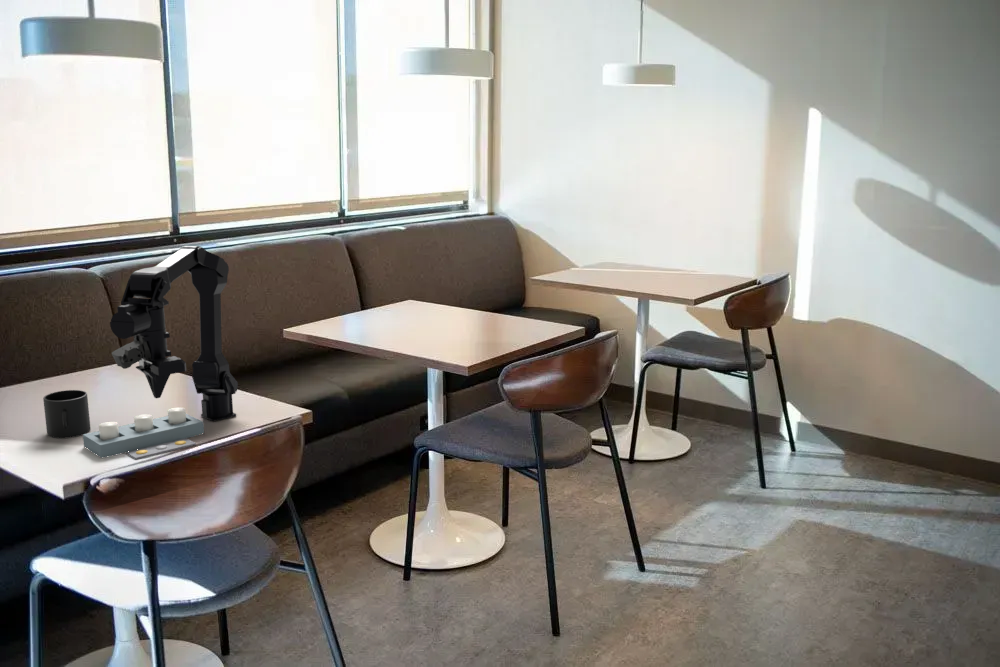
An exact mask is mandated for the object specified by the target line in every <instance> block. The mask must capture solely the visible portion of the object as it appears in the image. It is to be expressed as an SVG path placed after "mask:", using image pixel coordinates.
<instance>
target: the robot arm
mask: <svg viewBox="0 0 1000 667" xmlns="http://www.w3.org/2000/svg"><path fill="white" fill-rule="evenodd" d="M187 272H188V273H189V274H190V276H191V283H192V286H193V287H194V288H195V290H196V291H197V293H198V295H199V333H200V335H199V336H200V338H199V339H200V354H199V356H198V358H197V359H196V360H195V361H193V362H192V365H191V366H192V376H191V378H192V382H193V384H194V388H195V391H196V394H198V395H199V394H202V399H201V413H200V416H201V417H202V418H205V419H206V420H208V421H211V422H216V421H221V420H226V419H229V418H234V417H237V413H235V412H234V406H233V404H234V403H233V395H235V394H236V393H237V391H238V384H239V382H238V381H237V380H236V379H235V377H234V376H233V375H232V374H231V372H230V362H228V360H227V359H226V357H225V355H224V354H223V350H222V348H223V347H222V346H223V345H222V344H223V342H222V341H223V340H222V305H221V303H222V301H221V298H222V297H221V296H222V295H221V294H222V292H223V290H224V289H225V287H226V286H227V283H228V275H229V272H230V269H229V265H228V262H226V261H225V259H224V258H223V257H220V256H219V255H216V254H214V253H212V252H210V251H208V250H206V249H205V247H201V246H199V245H183V246H181V247H180V248H179V249H178V250H177V251H176V252H174V253H173V254H171V255H170V256H168V257H167V258H166V259H164V260H163V261H161V262H160V263H158V264H157V265H155V266H151V267H145V268H140V269H139V270H138V269H137V270H135V271H133V272H132V273H131V274H130V276H129V278H128V281H127V283H126V286H125V289H124V293H123V295H122V299H121V302H120V305H118V306H117V307H116V309H117V312H115V313H114V314H113V315H112V317H111V318H110V322H109V324H110V330H111V332H112V333H113V335H114V336H116V337H117V338H119V339H122V340H126V339H129V338H132V337H133V341H131V342H130V343H126V344H125V345H122V346H120V347H119V348H117V349H116V350H113V351H112V352H111V356H112V357H113V359H114V361H115V363H116V366H117V367H121V368H122V369H129V368H131V367H132V365H135V364H136V363H138V365H137V366H135V369H137V370H139V371H140V372H141V373H142V374H144V375H145V378H146V380H147V382H148V386H149V388H150V390H151V393H152V395H153V398H154V399H159V398H161V396H162V395H163V392H164V389H165V388H166V385H167V382H168V381H169V379H170V376H171V375H174V374H178V373H184V372H187V362H186V361H185V360H183V359H182V358H180V357H177V356H175V355H173V356H172V351H171V350H168V342H167V339H169V338H171V336H170V332H168V331H167V329H166V316H165V306H168V305H169V304H170V303H169V301H168V299H166V298H165V297H166V295H167V294H168V293H169V292H170V290H171V288H172V285H171V284H172V283H173V282H174V281H175V280H177V279H179V278H180V277H181V276H183V274H186V273H187Z"/></svg>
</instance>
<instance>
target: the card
mask: <svg viewBox="0 0 1000 667" xmlns="http://www.w3.org/2000/svg"><path fill="white" fill-rule="evenodd" d="M193 445H194V446H196V445H197V443H196V442H195V441H192V440H191V439H189V438H184V439H180V440H175V441H171V442H167V443H163V444H159V445H154V446H150V447H146V448H142V449H138V450H133V451H129V452H126V453H125V455H127V454H128V455H127V456H129V458H132V459H134V460H135V461H136V460H140V459H144V458H148V457H151V456H156V455H160V454H164V453H168V452H173V451H176V450H181V449H184V448H185V449H186V448H189V447H192V446H193Z"/></svg>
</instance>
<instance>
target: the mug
mask: <svg viewBox="0 0 1000 667" xmlns="http://www.w3.org/2000/svg"><path fill="white" fill-rule="evenodd" d="M42 400H43V408H44V418H45V429H46V434H47V436H48V437H49V438H54V439H69V438H74V437H75V438H77V437H79V436H83V434H87V433H90V430H91V420H90V410H89V409H90V408H89V400H88V393H87V392H86V391H85V390H81V389H80V390H79V389H69V390H68V389H67V390H60V391H54V392H50V393H48V394H46V395H44V396H43V399H42Z"/></svg>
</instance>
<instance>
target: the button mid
mask: <svg viewBox="0 0 1000 667" xmlns="http://www.w3.org/2000/svg"><path fill="white" fill-rule="evenodd" d="M153 419H154V418H153V415H152V414H149V413H148V414H138V415H136V416H134V417H133V423H134V424H135V431H136V432H138V433H140V432H144V431H149V430H153V429H154V428H153Z"/></svg>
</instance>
